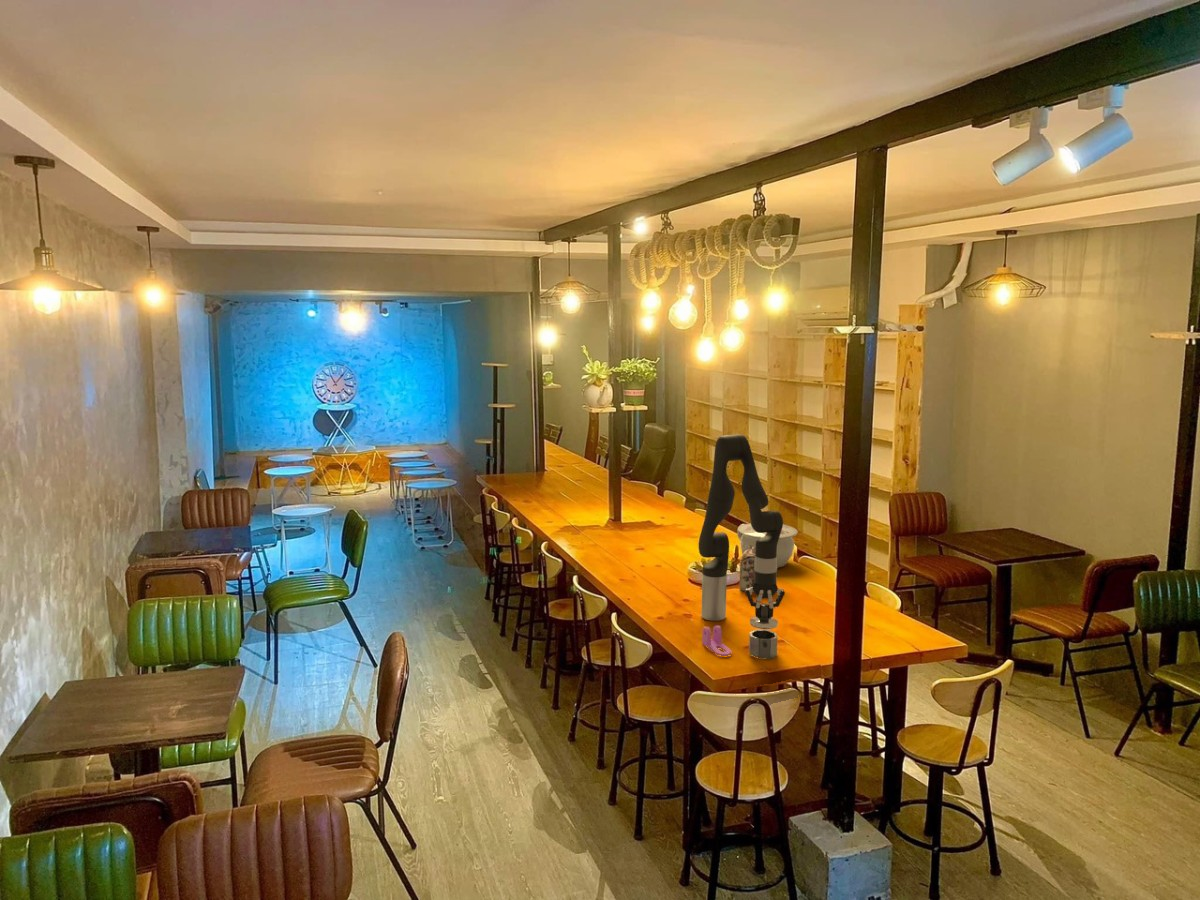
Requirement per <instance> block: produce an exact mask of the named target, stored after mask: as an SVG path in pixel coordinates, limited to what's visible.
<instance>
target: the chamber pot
mask: <svg viewBox="0 0 1200 900" xmlns="http://www.w3.org/2000/svg"><path fill="white" fill-rule="evenodd" d="M736 533H737V538H738V539H739V542H740V551H741V555H743V553H744V551H746V550H749V549H752V547H756V541H757V540H758V539H760V538H762V537H764V536H765V535H766V533H767V532H765V533H758V532H756V531H755V530H754V529H753V528H752V526H751V522H749V523H742V524H740V525H739V526H738V528H737V532H736ZM798 533H799V531H798V529H796V528H795V527H793V526H791V525H787V524H784V523H783V527H782V531H781V534H780V537H779V540H778V543H777V569H778V568H781V567H784V566H786V564H787V563H788V562H789V560H790V559H791V557H792V556H793V552H794V548H795V541H794V538H793V537H795V536H797V534H798Z"/></svg>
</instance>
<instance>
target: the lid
mask: <svg viewBox="0 0 1200 900" xmlns="http://www.w3.org/2000/svg"><path fill="white" fill-rule="evenodd" d="M749 624H750V626H752V627H753V628H755V629H758V630H773V629H776V628H777V627H778V625H779V621H778V620H777V619H776V618H774V617H771V619H769V603H760V619H758V618H757V617H756V616H753V617H751V618H750V619H749Z"/></svg>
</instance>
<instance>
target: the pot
mask: <svg viewBox="0 0 1200 900" xmlns="http://www.w3.org/2000/svg"><path fill="white" fill-rule="evenodd" d="M748 639H749V640H748V641H749V642H748V646H749V647H748V652H750V653H749V655H750V654H751V655H753V656H755V657H758V658H766V659H765V660H768V659H769V660H772V659H775V658H777V657H776V656H778V655H777V654H778V634H777V632H775V631H772V630H770V629H754V630H752V631H750V632H749V638H748ZM774 657H775V658H774ZM771 658H772V659H771Z"/></svg>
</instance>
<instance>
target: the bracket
mask: <svg viewBox="0 0 1200 900" xmlns="http://www.w3.org/2000/svg"><path fill="white" fill-rule="evenodd" d="M722 631H723V630H722V627H721V626H720V625H714V626H713V628H712V631H711V628H710V627H709V626H705V627H703V628H702V637H701V638H702V639H701V640H702V642H701V643H702V644H704V645H705V646H707V647H708V648H709V649H710V650H712V651H713V652H714V653H716V654H717V655H721V656H728V655H731V653H733V652H732V649H730V648H729V647H728V646H726V645H725V644H724V643H723V642H722V637H723V635H722V634H723V632H722ZM704 645H703V646H704ZM705 646H704V647H705ZM718 648H721V649H722V650H724V651H725V652H723V651H721V650H720V649H718ZM709 649H708V650H709ZM710 650H709V651H710ZM714 653H713V654H714ZM731 656H732V655H731Z"/></svg>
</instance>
